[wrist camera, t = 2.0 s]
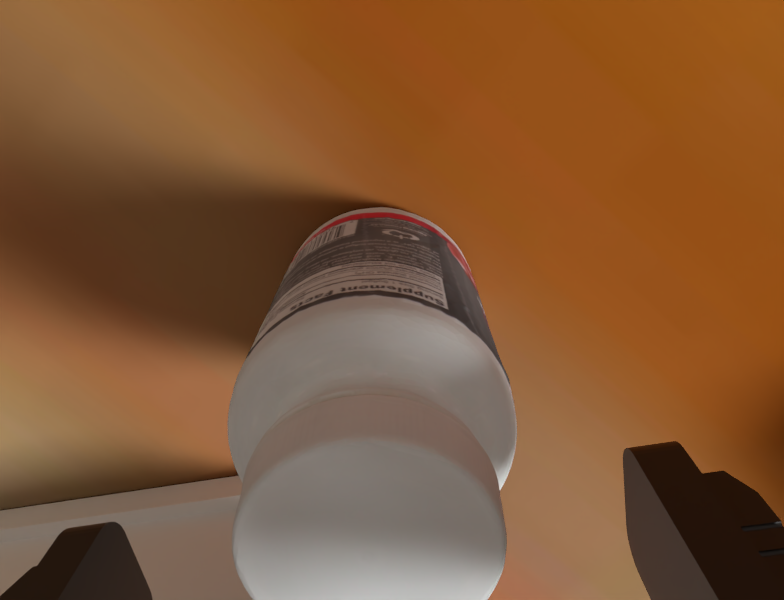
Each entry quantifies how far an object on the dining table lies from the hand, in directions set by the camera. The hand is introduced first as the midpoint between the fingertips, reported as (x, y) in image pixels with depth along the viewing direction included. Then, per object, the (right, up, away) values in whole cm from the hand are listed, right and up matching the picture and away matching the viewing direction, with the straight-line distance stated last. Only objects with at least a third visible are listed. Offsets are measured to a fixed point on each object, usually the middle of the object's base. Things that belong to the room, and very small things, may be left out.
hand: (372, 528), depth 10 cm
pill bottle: (0, +4, +8) cm, 9 cm away
